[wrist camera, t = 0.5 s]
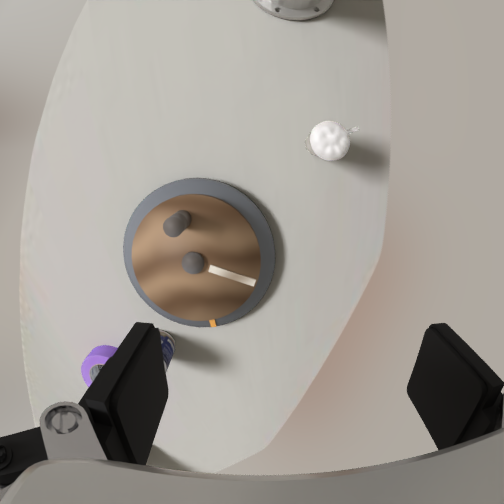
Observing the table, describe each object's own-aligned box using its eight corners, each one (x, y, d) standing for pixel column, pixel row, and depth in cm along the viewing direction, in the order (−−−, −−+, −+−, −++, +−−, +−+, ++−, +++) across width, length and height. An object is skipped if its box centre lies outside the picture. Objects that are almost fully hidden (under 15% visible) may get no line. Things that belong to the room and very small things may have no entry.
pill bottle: (168, 325, 48) (151, 361, 38) (180, 352, 49) (167, 389, 40) (140, 331, 48) (120, 365, 39) (153, 356, 50) (136, 393, 40)
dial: (270, 305, 45) (272, 328, 38) (155, 322, 46) (143, 345, 40) (246, 181, 39) (244, 185, 33) (121, 209, 41) (100, 218, 34)
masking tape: (81, 343, 50) (72, 354, 46) (134, 345, 49) (126, 357, 46) (100, 389, 53) (93, 401, 50) (151, 394, 53) (145, 407, 49)
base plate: (101, 239, 44) (96, 242, 42) (211, 145, 40) (209, 145, 38) (189, 344, 49) (187, 350, 47) (304, 271, 45) (305, 276, 43)
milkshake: (343, 149, 40) (368, 146, 30) (309, 166, 40) (326, 168, 31) (327, 119, 38) (348, 109, 29) (293, 136, 39) (305, 129, 30)
